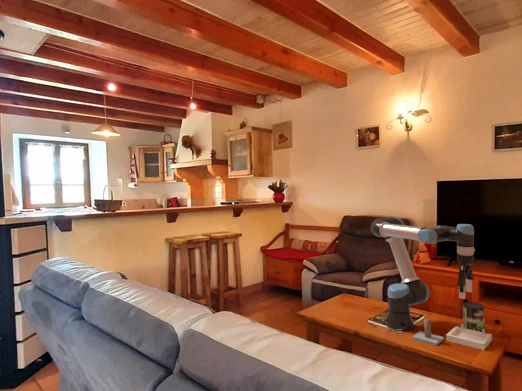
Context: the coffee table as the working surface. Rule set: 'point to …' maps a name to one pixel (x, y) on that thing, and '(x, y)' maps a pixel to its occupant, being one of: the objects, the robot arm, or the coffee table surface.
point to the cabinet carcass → (469, 337)
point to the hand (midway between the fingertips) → (465, 295)
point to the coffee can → (473, 316)
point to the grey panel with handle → (428, 335)
